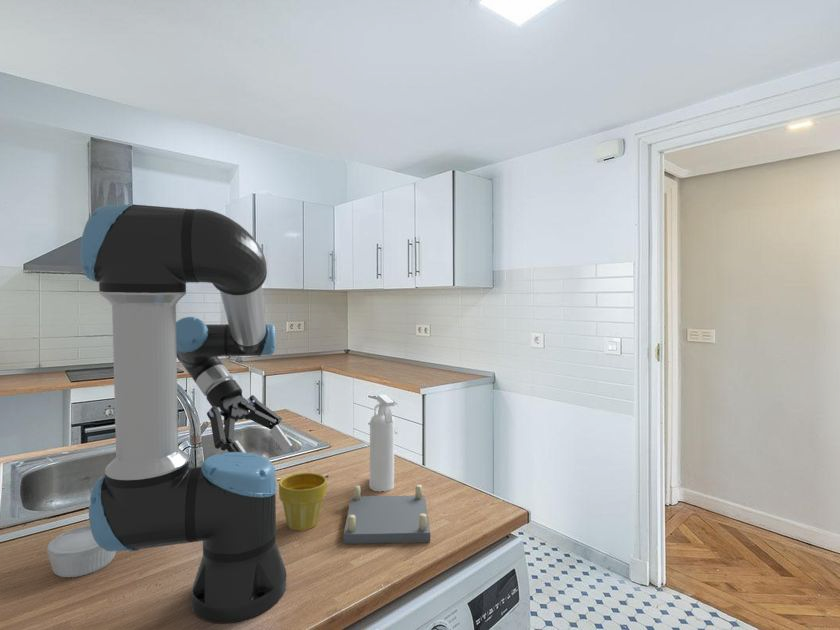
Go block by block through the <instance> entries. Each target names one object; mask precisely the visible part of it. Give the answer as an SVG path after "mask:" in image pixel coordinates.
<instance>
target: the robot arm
mask: <svg viewBox="0 0 840 630" xmlns="http://www.w3.org/2000/svg"><path fill="white" fill-rule="evenodd" d="M79 254H80V255H79V256H80V264H81V265H82V271H83V274H84V275H85V277H86V278H87V279H88V280H90V281H93V282H96V283H98V289H99V291H98V292H99V294H100V295H101V296H102V297H103V298H104V299H106V300H107V301H108V302H109V304H111V312H112V314H111V315H112V316H111V317H112V318H111V319H112V349H113V350H112V351H113V352H112V353H113V355H112V356H113V387H114V389H113V391H114V392H113V393H114V426H115V427H114V428H115V455H116V456H115V458H113V460H111V462H110V463H109V464H107V466H106V467H105V469H104V475H102V476H100V477H99V478H98V479H97V480H96V481H95V483H94V485H93V487H92V489H91V492H90V499H89V500H90V504H89V506H88V520H89V525H90V527H91V532H92V535H93V538H94V540H95V541H96V543H97V544H98V546H100V547H101V548H103V549H104V550H106V551H116V552H121V551H122V552H124V551H129V552H137V551H139V550H143V549H144V550H145V549H150V548H151V549H152V548H159V547H167V546H174V545H182V544H189V543H195V542H202V557H201V560H200V563H199V566H198V569H197V572H196V575H195V578H194V581H193V584H192V588H191V593H190V594H191V596H190V597H191V609H192V611H193V613H194V614H195V615H196V617H198V618H199V619H201V620H204V621H206V622H210V623H215V624H217V623H218V624H219V623H220V624H226V623H227V624H228V623H229V624H230V623H235V622H240V621H241V622H242V621H245V620H249V619H251V618H254V617H257V616H258V615H260V614H263V613H264V612H266V611H268V610H269V609H271V608H272V607H273V606H275V604H277V603H278V602H279V601H280V600H281V598H282V597H283V595H284V594H285V591H286V589H287V570H286V566H285V563H284V561H283V559H282V555H281V553H280V551H279V547H278V544H277V534H276V533H277V520H276V519H277V517H276V515H277V514H276V513H277V511H276V509H277V507H276V505H277V504H276V496H277V492H278V485H277V481H276V469H275V466H274V463H272V461H271V460H270V459H268V458H267V457H265V456H261V455H259V454H256V453H251V452H246V450H245V449H244V447H243V445H242V444H241V443H240V442H239V440H235V441H234V439H235V438H234V436H235V425H236V424H235V423H236V422H237V421H240V420H251V421H253V422H255V423H256V424H259V425H261V426H263V427H264V428H266V429H269V434H270V435H271V437H272V438H273V440H274V441H275V443H277V444H278V446H279V447H280V449H281V450H282V452H283V453H286V452H287V451H288V450H289V449H290V448H291V447H292V446H293V444H292V442H291V441H290V439H289V438H288V437H287V435H286V433H285V431H284V430H283V428H282V427H281V426H280V423H281V422H282V420H283V418H282V417H281V415H278V414H277V413H276V412H274V410H272V409H270V408H269V407H268V406H266V405H264V403H262V402H261V401H259V399H258V398H257V396H255V395H252V394H251V396H250V397H249V398H245V397H243V390H242V387H241V386H240V385H239V384H238V382H237V381H236V380H235V379H234V377H233V375H232V374H231V373H230V371H229V370H228V368H227V367H226V366H225V365H224V363H222V361H221V360H220V357H223V358H224V357H263V356H272V355H274V353H275V351H276V328H275V325H274V324H269V323H266V316H265V306H264V305H265V304H264V291H263V285H264V283H266V282H265V281H266V279H267V274H268V273H267V271H268V269H267V261H266V257H265V255H264V251H263V250H262V248H261V247H260V245H259V243H258V242H257V241H256V239H255V238H254V236H253V235H251V233H250V232H249V231H247V229H245V228H244V227H243V226H242V225H241V224H239V223H238V222H237V221H235V220H233V219H232V218H230V217H228V216H226V215H225V214H222V213H220V212H217V211H215V210H210V209H203V208H195V209H194V208H181V207H170V206H169V207H168V206H156V205H155V206H154V205H146V204H145V205H144V204H132V203H129V204H105V205H102V206H99V207H98V208H96V209H95V210H94V211H93V212H92V213H91V215H90V216H89V217H88V218H87V221H86V223H85V225H84V228H83V232H82V237H81V240H80V253H79ZM187 283H195V284H198V283H207V284H208V283H210V284H212V285H213V286H214V287H215V289H216V290H217V291H219V294H220V296H221V297H220V298H221V301H222V304H223V308H224V312H225V315H226V319H227V323H228V324H226V323H225V324H223V323H222V324H216V323H215V324H211V323H210V324H205V322H204V321H203V320H202V319H200V318H198V317H194V316H187V317H183V318H180V319H179V320H177V303H178V302H179V301H180V300H181V299H182V298H183V297H185V296H186V294H187ZM177 361H178V362H179V363H180V364H182V366H183V368H185V370H186V371H187V373H188V374H189V376H190V377H191V378H192V380H193V381H194V383H195V384H196V386H197V387H198V388H199V390H200V392H201V393H202V394H203V396H205V397H206V401H207V402H208V403H209V404H210V406H211V408H210V409H209V410H208V411H207V413H206V415H207V417H208V419H209V421H210V428H211V433H212V438H213V445H214V448H215V449H218V450H219V449H220V450H221V451H224V452H221V453H218V454H217V453H216V454H213V455H210V456H208V457H207V458H204V460H203V462H202V464H201V465H200V466H197V467H196V466H195V467H190V465H189V460H190V459H189V457H190V456H189V455H188V453H187V452H185V451H184V450H182V449H180V447H179V427H178V426H179V419H178V416H179V415H178V413H179V412H178V410H179V409H178V366H177V365H178V364H177V363H178V362H177ZM222 417H223V418H222ZM225 451H227V452H225Z"/></svg>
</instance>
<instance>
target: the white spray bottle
mask: <svg viewBox="0 0 840 630" xmlns="http://www.w3.org/2000/svg"><path fill="white" fill-rule="evenodd" d="M376 401H377V402H378V403H377V404H376V405H375V406H374V415H373V416H372V417H371V418H370V421H369V488H370V489H372V491H374V492H377V491H378V493H379V492H381V491H384V492H388V490H389V491H391V490H393V489H394V487H395V424H396V423H395V418H394V417H393V414H392V408H391V407H395V401H393V400H392V399H391V398H390V397H389V396H387V395H386V394H385V393H384V394H377V398H376ZM381 493H382V492H381Z"/></svg>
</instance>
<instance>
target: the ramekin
mask: <svg viewBox="0 0 840 630" xmlns="http://www.w3.org/2000/svg"><path fill="white" fill-rule="evenodd" d="M46 552H47V555H48V557H49V561H50V562H49V563H50V565H51V570H52V572H53V573H54V574H55V575H57V576H58V577H61V578H65V577H72V578H79V577H84V576H88V575H90V574H93V573H95V572H97V570H98V571H100V570H101V569H103V568H105V567H106V566H108V565H109V564H110V563H111V562H112V561H113V559H114V558H115V556H116V554H117V551H106V550H104V549H103V548H101V547H100V546H98V544H97V543H96V541H95V540H94V538H93V535H92V532H91V527H90V524H88V525H87V524H86V525H82V526H78V527H76V528H72V529H70V530H67V531H64V532H62V533H60V534H59V535H57V536H56V537H54V538H52V540H50V541H49V543H48V544H47V547H46ZM99 569H100V570H99ZM92 572H93V573H92ZM89 573H90V574H89ZM83 575H84V576H83ZM78 576H79V577H78Z"/></svg>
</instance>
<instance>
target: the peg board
mask: <svg viewBox="0 0 840 630" xmlns="http://www.w3.org/2000/svg"><path fill="white" fill-rule="evenodd" d="M414 489H415V492H414V493H415V495H363V496H361V486H360V485H354V486H353V496H351V497H350V501H349V507H348V511H347V515H346V521H345V526H344V531H343V544H344V545H350V544H357V545H358V544H396V543H397V544H398V543H399V544H400V543H402V544H404V543H430V542H431V529H430V523H429V522H430V521H429V516H428V510H427V503H426V497H425V495H423V486H422V484H416V485H415V488H414Z"/></svg>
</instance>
